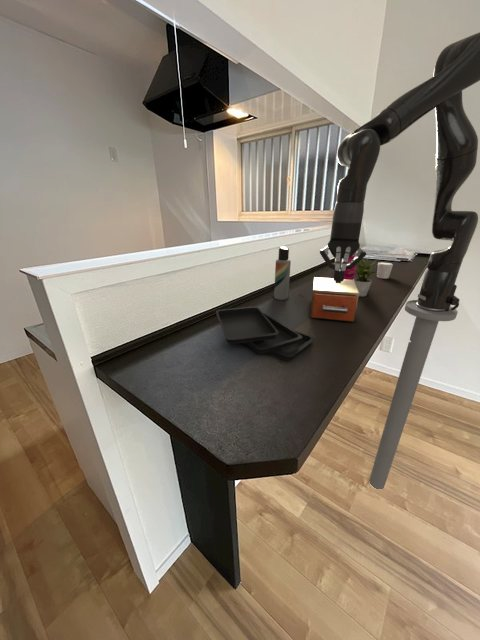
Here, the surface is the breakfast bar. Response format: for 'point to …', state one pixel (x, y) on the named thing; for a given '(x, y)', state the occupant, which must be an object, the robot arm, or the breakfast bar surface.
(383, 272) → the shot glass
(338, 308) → the wooden drawer unit
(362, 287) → the house plant
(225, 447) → the breakfast bar surface
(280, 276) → the lotion bottle
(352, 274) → the pepper mill
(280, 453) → the breakfast bar surface
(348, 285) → the small drawer box
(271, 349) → the tray
